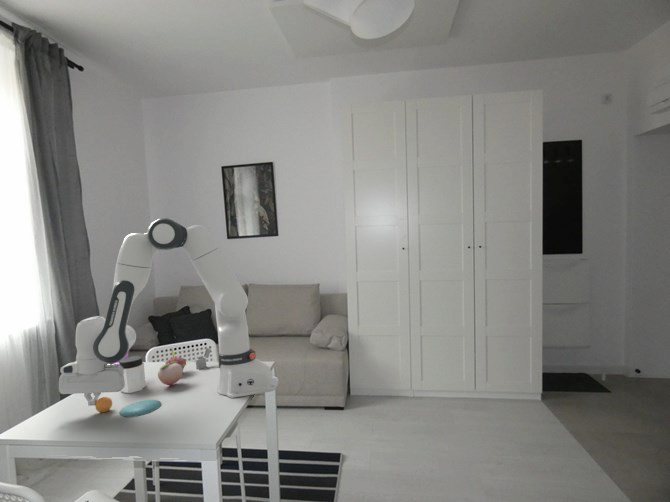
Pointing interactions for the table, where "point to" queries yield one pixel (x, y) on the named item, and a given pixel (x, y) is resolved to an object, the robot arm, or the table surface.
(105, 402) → the ball
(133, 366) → the jar
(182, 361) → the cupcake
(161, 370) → the decorative fruit
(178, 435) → the table surface
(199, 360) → the lighter
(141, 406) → the disc
